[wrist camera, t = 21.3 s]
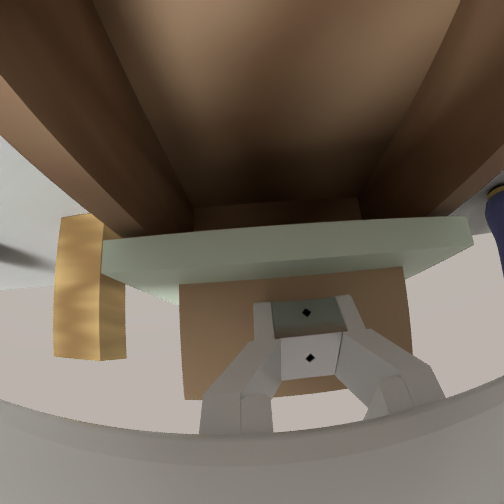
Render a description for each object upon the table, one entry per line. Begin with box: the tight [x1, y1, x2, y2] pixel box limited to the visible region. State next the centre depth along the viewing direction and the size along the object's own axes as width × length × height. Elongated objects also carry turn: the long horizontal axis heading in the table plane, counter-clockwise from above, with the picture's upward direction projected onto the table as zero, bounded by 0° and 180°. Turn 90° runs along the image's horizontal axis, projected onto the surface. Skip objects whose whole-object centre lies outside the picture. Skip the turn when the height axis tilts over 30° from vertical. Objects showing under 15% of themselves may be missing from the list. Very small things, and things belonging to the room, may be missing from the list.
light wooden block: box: [53, 213, 126, 361], centre depth 18 cm, size 4×4×9 cm
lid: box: [101, 216, 474, 400], centre depth 17 cm, size 12×19×5 cm, turn 2°
